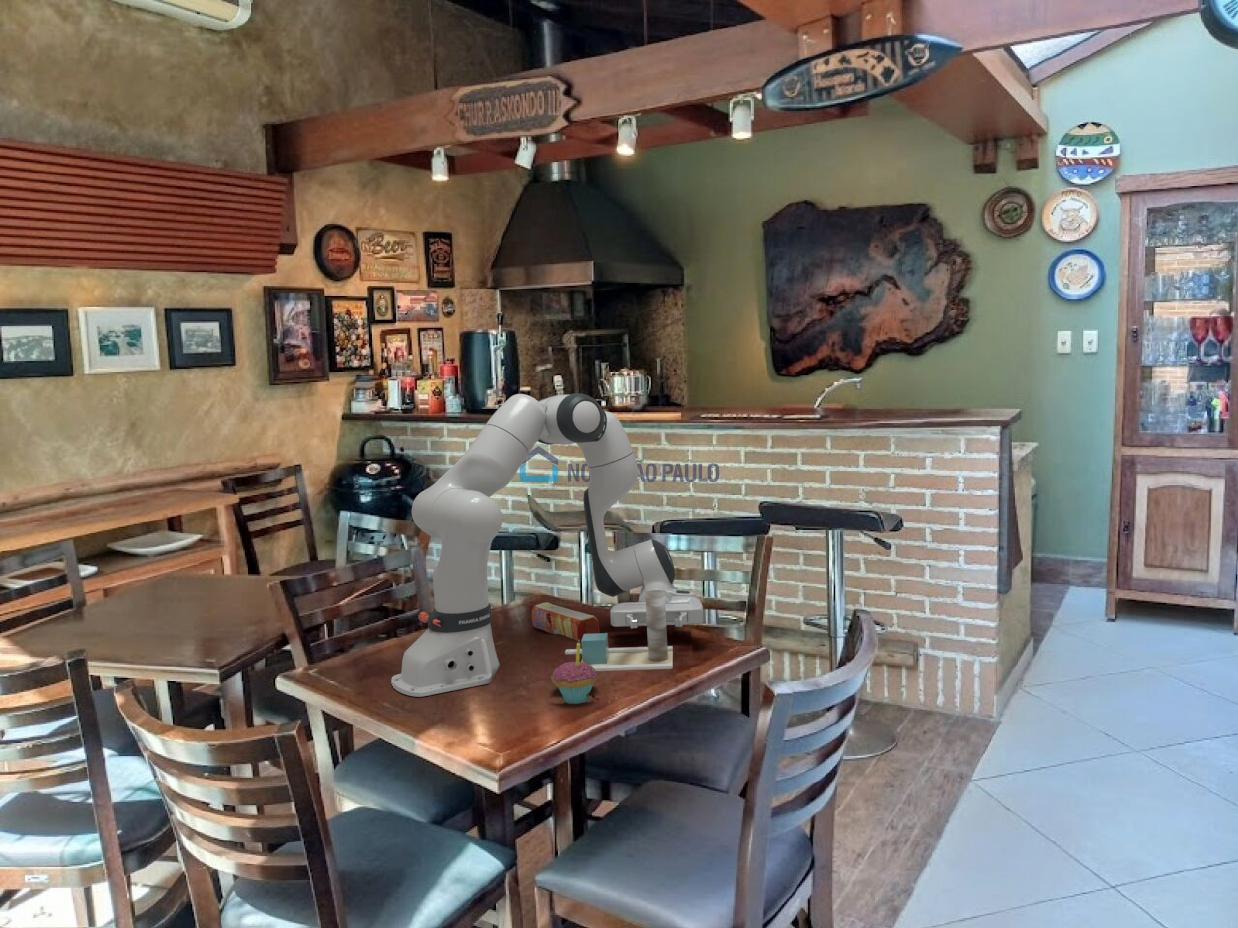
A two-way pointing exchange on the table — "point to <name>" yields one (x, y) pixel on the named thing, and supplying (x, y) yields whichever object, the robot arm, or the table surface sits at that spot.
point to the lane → (628, 667)
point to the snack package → (563, 621)
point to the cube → (595, 648)
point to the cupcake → (574, 679)
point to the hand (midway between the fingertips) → (656, 623)
